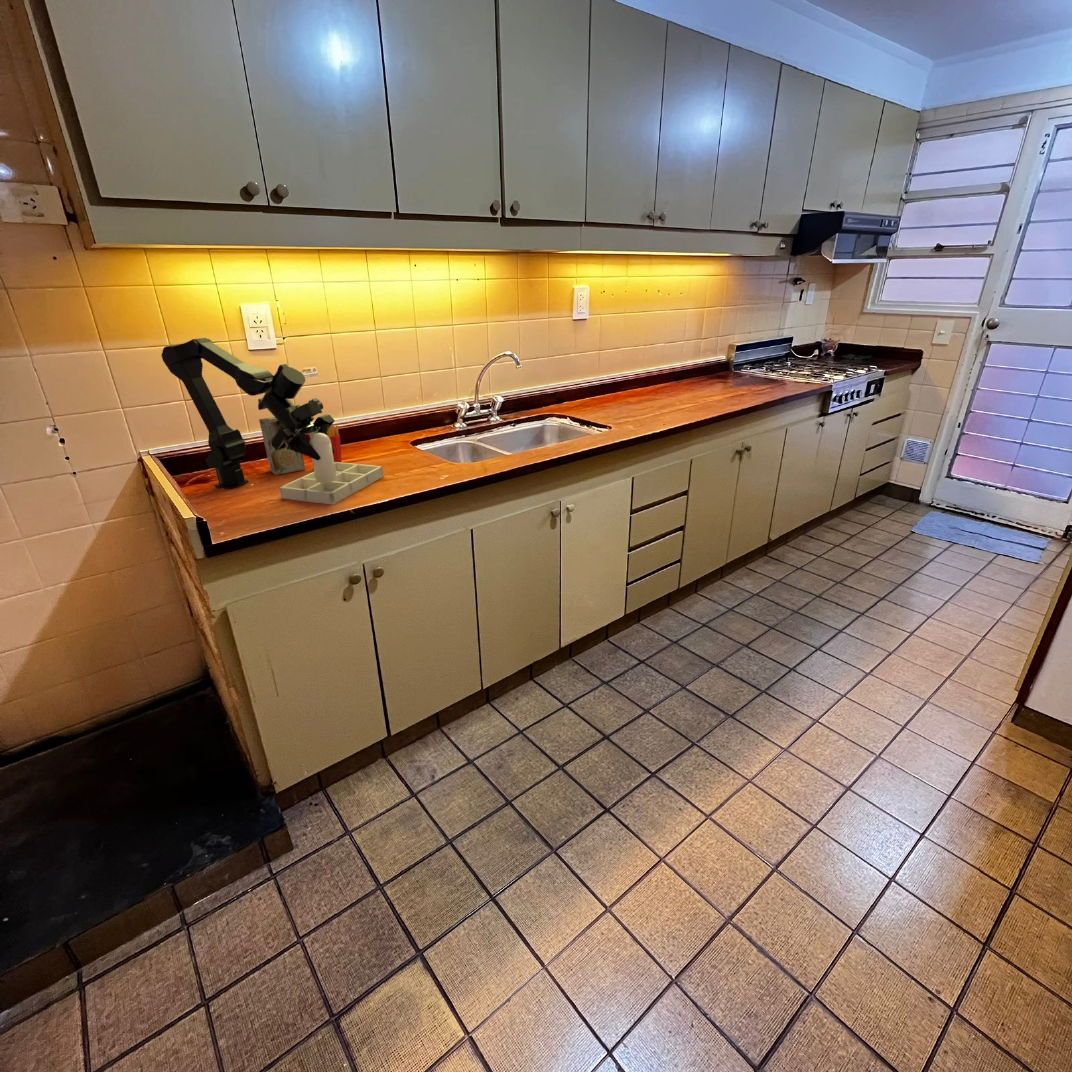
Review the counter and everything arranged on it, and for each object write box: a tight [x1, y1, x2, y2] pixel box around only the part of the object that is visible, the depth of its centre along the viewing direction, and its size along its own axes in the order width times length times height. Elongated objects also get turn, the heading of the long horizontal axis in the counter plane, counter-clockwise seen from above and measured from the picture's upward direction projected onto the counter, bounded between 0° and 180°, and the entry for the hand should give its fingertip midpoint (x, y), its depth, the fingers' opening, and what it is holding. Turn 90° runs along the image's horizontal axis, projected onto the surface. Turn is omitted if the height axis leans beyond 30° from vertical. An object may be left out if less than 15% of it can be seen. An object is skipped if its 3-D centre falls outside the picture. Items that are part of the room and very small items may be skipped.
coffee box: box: [258, 416, 306, 476], centre depth 171 cm, size 9×6×16 cm
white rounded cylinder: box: [308, 433, 337, 483], centre depth 147 cm, size 5×5×13 cm
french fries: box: [308, 424, 343, 463], centre depth 175 cm, size 9×4×13 cm, turn 121°
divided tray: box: [278, 461, 384, 506], centre depth 159 cm, size 16×24×3 cm
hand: (326, 456), depth 147 cm, fingers closed on white rounded cylinder, 5 cm apart
